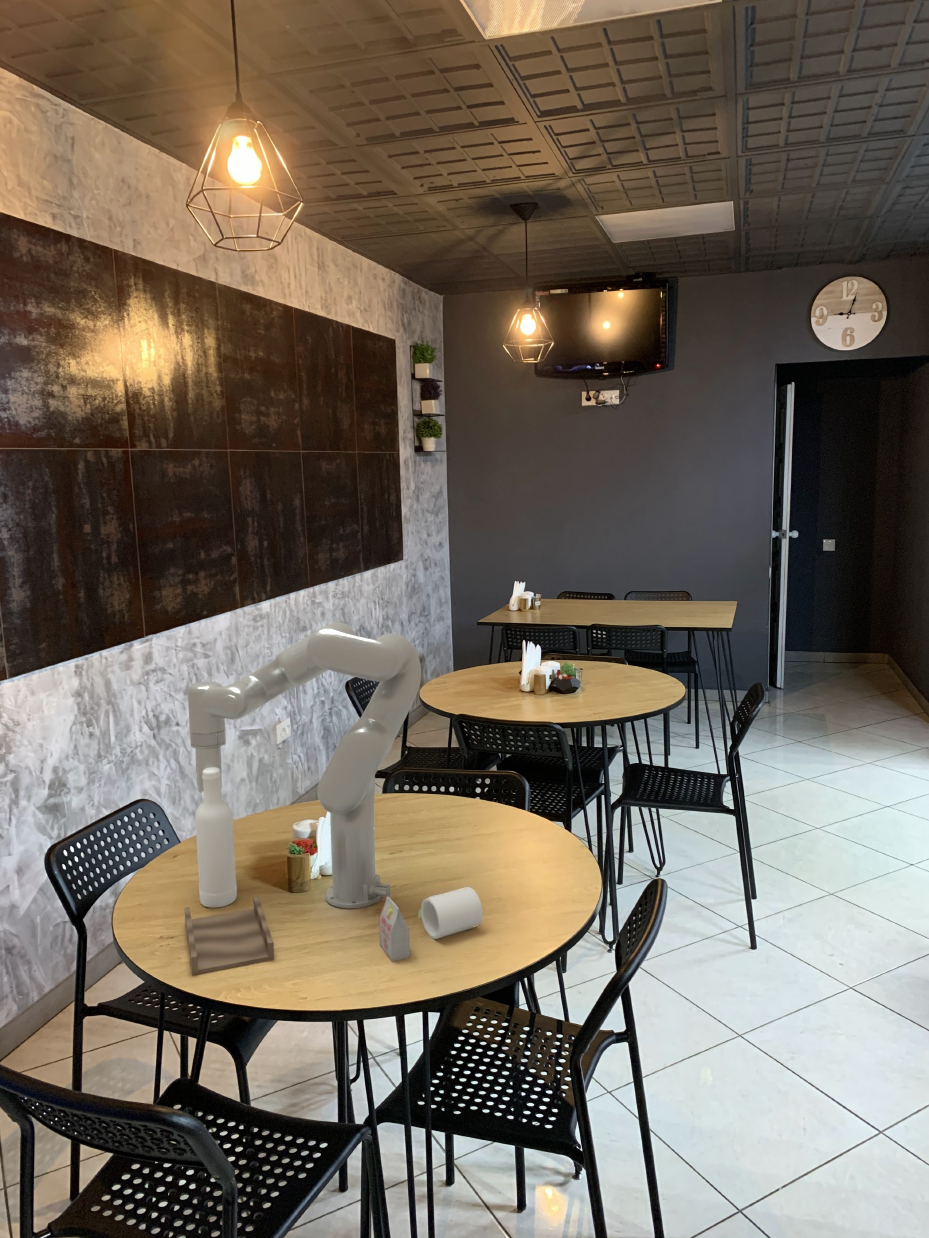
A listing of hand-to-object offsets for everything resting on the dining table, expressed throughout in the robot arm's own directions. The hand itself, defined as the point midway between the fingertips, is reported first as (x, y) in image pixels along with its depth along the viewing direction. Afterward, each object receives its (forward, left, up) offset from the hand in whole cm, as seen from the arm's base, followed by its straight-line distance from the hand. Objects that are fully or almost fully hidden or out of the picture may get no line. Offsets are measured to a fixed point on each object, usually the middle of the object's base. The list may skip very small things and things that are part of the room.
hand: (212, 817), depth 197 cm
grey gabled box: (-51, +9, -17) cm, 54 cm away
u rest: (-18, +18, -17) cm, 30 cm away
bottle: (-4, +3, -17) cm, 18 cm away
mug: (-56, -4, -18) cm, 59 cm away
